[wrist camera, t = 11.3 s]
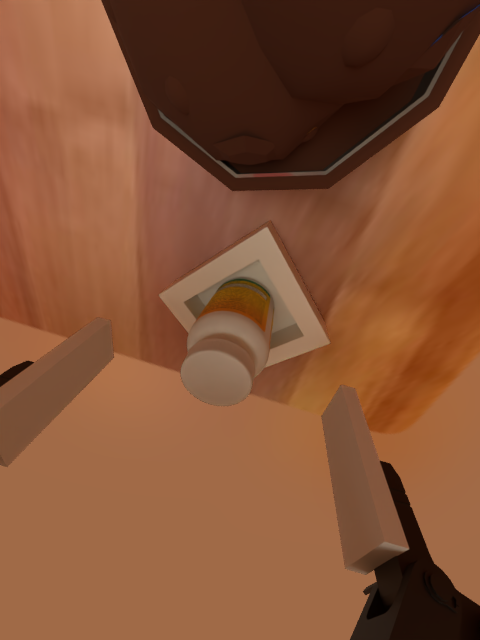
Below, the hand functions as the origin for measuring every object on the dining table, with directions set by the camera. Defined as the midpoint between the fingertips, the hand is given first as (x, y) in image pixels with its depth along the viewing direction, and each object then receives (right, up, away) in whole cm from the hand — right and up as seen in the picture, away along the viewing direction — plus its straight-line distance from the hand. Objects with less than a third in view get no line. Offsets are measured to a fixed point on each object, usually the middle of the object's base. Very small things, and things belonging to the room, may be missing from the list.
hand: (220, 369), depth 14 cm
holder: (+2, +4, +8) cm, 9 cm away
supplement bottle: (+1, +4, +8) cm, 9 cm away
